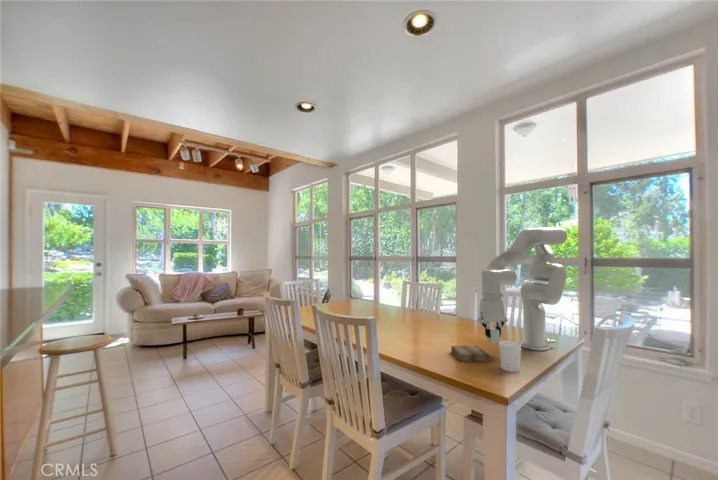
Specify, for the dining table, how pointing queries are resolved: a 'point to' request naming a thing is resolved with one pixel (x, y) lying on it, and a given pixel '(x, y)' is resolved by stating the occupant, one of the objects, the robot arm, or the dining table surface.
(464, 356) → the walnut base
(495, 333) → the sage block
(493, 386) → the dining table surface
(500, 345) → the white cup
